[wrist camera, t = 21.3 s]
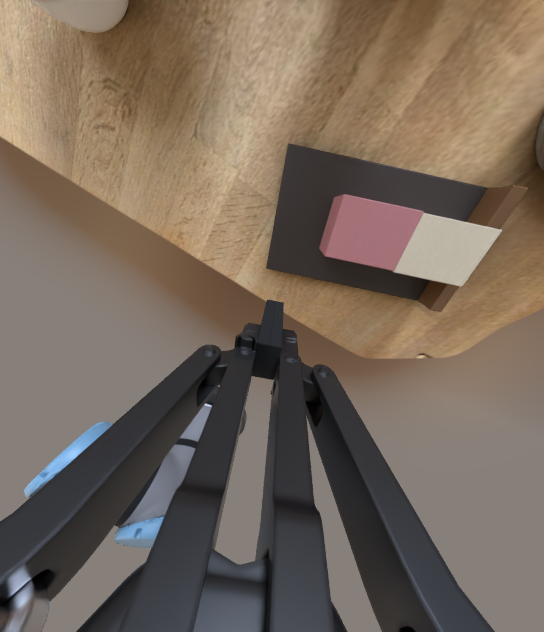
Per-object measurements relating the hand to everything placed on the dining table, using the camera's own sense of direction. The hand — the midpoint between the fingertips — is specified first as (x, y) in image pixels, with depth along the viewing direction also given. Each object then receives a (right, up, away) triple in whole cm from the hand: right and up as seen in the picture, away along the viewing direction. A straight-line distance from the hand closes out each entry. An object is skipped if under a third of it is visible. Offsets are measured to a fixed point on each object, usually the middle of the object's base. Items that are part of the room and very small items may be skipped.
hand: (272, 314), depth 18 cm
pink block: (+11, +11, +7) cm, 17 cm away
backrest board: (+12, +11, +8) cm, 18 cm away
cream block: (+19, +9, +7) cm, 22 cm away
